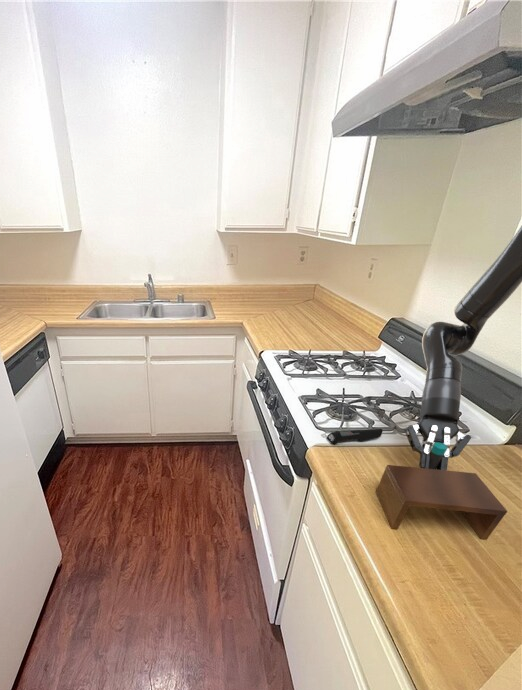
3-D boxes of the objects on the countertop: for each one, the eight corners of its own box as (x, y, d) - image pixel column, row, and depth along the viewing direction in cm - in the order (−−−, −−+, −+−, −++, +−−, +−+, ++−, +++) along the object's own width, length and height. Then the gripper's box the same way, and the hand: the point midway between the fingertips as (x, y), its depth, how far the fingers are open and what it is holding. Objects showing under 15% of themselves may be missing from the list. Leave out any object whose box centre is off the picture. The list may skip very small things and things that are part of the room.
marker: (427, 476, 84) (444, 442, 79) (431, 483, 82) (450, 449, 76) (415, 475, 84) (431, 441, 79) (419, 482, 82) (437, 448, 77)
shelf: (459, 500, 77) (475, 473, 73) (486, 539, 68) (507, 511, 64) (375, 491, 79) (386, 464, 75) (391, 529, 70) (405, 500, 66)
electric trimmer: (382, 441, 96) (386, 432, 95) (332, 445, 94) (335, 436, 92) (374, 434, 100) (378, 425, 98) (325, 438, 97) (328, 428, 95)
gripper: (414, 391, 80) (405, 463, 77) (483, 401, 77) (476, 477, 74) (402, 401, 88) (393, 467, 85) (465, 410, 84) (458, 480, 81)
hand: (432, 471), depth 79 cm, fingers closed on marker, 2 cm apart
